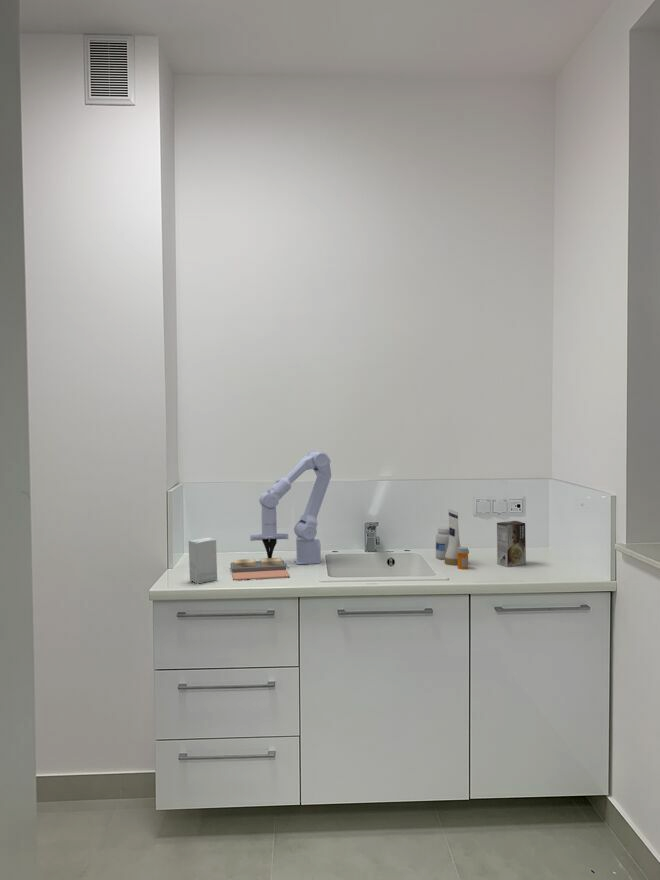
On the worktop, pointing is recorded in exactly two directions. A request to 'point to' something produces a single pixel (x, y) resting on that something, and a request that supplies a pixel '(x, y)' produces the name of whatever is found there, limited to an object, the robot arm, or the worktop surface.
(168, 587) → the worktop surface
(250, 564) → the outer tile
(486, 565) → the worktop surface
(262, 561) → the inner tile
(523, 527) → the coffee box
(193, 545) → the skincare box
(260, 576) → the mat
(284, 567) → the grey board
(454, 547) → the toiletry set
